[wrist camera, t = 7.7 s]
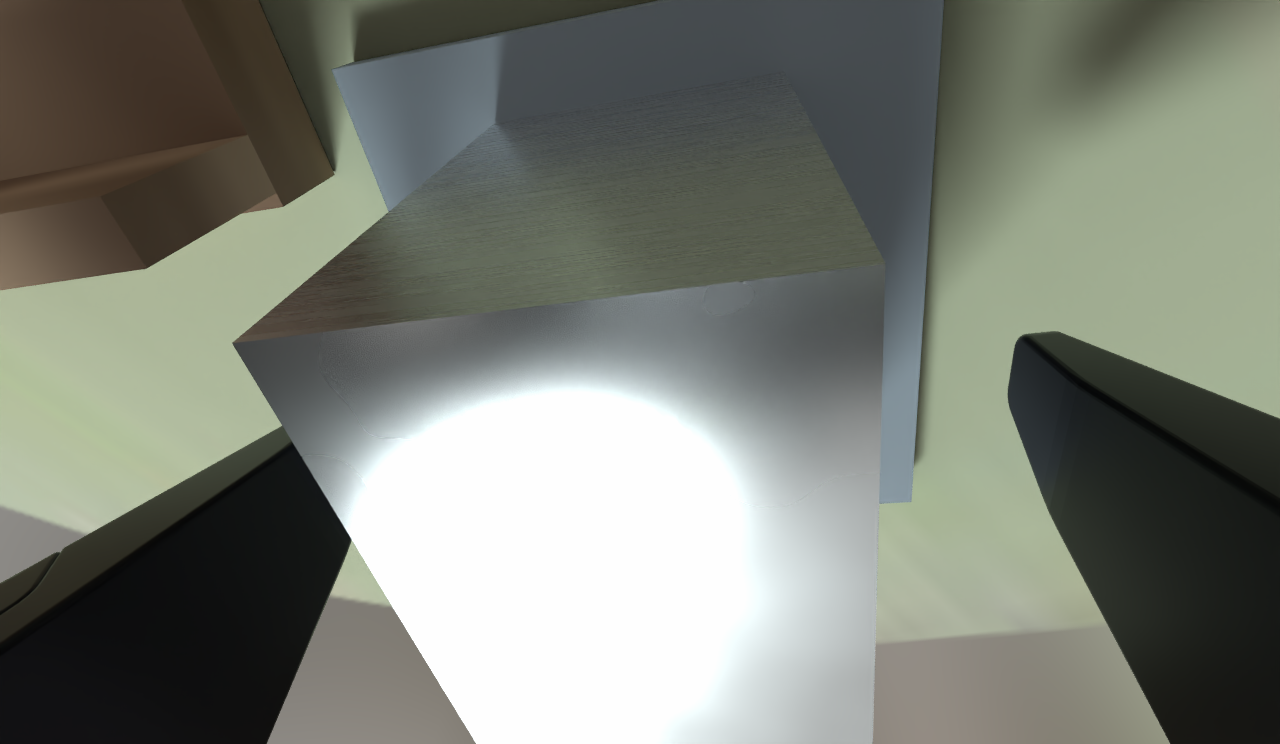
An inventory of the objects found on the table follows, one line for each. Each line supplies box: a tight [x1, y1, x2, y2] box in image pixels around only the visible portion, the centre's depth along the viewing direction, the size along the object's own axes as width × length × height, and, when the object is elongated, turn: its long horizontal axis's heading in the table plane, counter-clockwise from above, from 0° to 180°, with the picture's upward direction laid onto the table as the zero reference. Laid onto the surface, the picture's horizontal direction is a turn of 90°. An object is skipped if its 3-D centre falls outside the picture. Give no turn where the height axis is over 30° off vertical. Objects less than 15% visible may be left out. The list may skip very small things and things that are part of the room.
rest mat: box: [331, 0, 944, 504], centre depth 11 cm, size 8×9×1 cm
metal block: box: [232, 71, 886, 744], centre depth 8 cm, size 4×7×6 cm, turn 10°
